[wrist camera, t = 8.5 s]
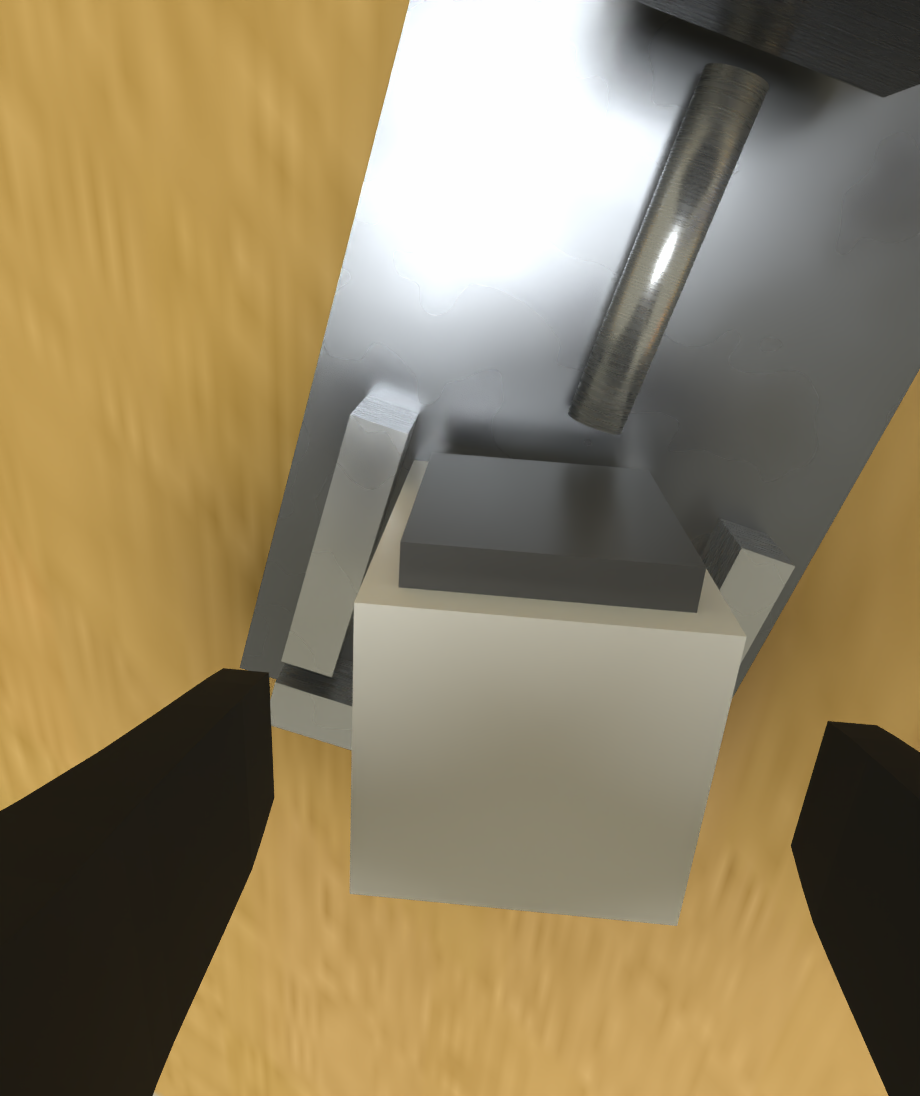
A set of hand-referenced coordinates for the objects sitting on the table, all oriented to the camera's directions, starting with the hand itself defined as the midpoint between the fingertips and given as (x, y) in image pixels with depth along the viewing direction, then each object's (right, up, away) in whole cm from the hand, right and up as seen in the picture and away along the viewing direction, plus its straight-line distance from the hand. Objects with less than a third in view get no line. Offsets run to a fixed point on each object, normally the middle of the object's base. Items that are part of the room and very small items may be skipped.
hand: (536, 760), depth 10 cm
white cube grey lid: (0, +2, +5) cm, 6 cm away
